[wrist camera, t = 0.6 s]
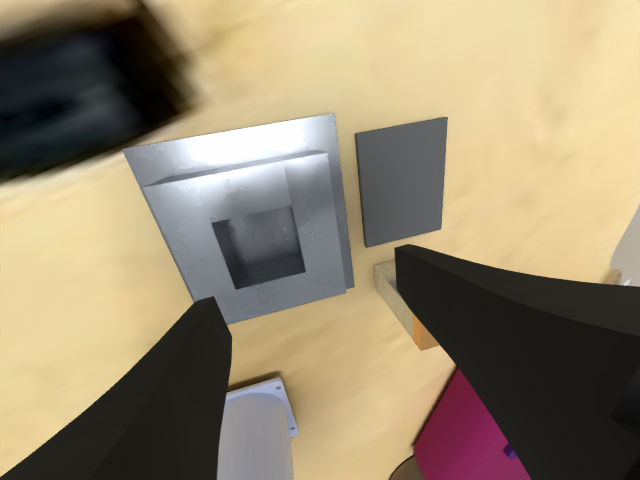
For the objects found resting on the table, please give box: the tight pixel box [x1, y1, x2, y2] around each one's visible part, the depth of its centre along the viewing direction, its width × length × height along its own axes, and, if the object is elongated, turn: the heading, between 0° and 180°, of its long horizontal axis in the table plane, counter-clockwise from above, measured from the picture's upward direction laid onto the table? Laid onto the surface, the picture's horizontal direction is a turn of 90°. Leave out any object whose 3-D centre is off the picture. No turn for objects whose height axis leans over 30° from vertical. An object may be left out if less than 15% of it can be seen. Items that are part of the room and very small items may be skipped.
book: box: [413, 368, 531, 480], centre depth 32 cm, size 21×28×8 cm
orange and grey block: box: [374, 260, 440, 351], centre depth 20 cm, size 3×3×8 cm
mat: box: [355, 117, 448, 248], centre depth 20 cm, size 9×7×1 cm
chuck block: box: [122, 113, 355, 325], centre depth 17 cm, size 14×13×4 cm
